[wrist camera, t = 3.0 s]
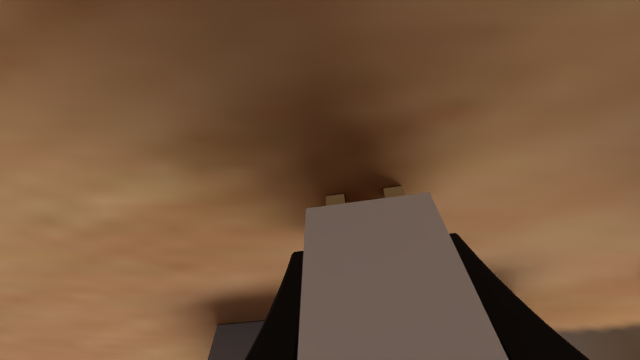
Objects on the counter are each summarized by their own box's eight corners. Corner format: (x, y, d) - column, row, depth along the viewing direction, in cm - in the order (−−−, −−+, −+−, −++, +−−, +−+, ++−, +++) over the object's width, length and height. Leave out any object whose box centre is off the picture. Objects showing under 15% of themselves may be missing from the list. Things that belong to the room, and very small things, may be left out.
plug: (417, 166, 11) (585, 522, 4) (416, 242, 13) (521, 551, 6) (307, 181, 11) (287, 529, 4) (325, 252, 14) (329, 554, 7)
